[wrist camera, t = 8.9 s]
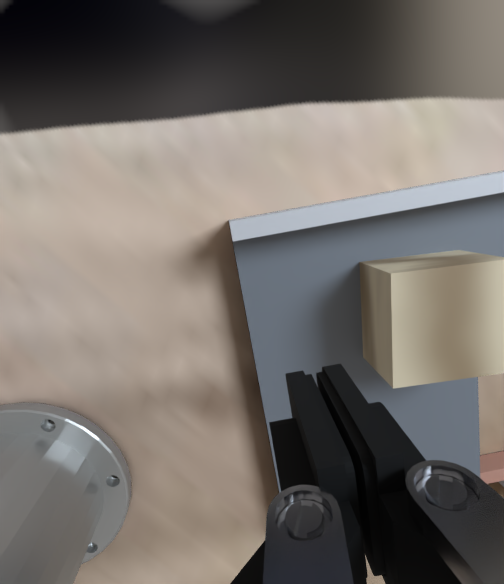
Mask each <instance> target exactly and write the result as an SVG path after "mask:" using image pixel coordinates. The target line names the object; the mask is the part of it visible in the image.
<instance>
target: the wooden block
mask: <svg viewBox="0 0 504 584" xmlns="http://www.w3.org/2000/svg"><path fill="white" fill-rule="evenodd" d="M359 263H360V289H361V314H362V339H363V358H364V359H365V360H366V361H367V362H368V363H369V364H370V365H371V366H372V367H373V368H374V369H375V370H376V371H377V372H378V373H379V374H380V375H381V376H382V378H383V379H384V380H385V381H386V382H387V383H388V384H389V385H390V386H391V387H392V388H393V389H394V388H401V387H408V386H416V385H423V384H430V383H437V382H444V381H451V380H459V379H466V378H473V377H480V376H487V375H495V374H502V373H504V257H499V256H493V255H487V254H481V253H474V252H468V251H462V250H454V251H446V252H438V253H429V254H421V255H413V256H405V257H396V258H388V259H380V260H372V261H363V262H359Z"/></svg>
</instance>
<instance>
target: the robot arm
mask: <svg viewBox="0 0 504 584" xmlns="http://www.w3.org/2000/svg"><path fill="white" fill-rule="evenodd" d="M285 375H286V382H287V389H288V395H289V401H290V407H291V413H292V418H289V419H284V420H278V421H273V422H269V425H270V430H271V436H272V442H273V448H274V454H275V459H276V465H277V471H278V477H279V483H280V488H281V492H280V493H279V494H278V495H277V496H276V497H275V498H274V499H273V501H272V502H271V504H270V505H269V509H268V513H267V521H266V538H265V541H264V542H263V544H262V545H261V546H260V547H259V549H258V550H257V551H256V552H255V554H254V555H253V556H252V557H251V559H250V560H249V561H248V562H247V564H246V565H245V566H244V567H243V569H242V570H241V571H240V572H239V574H238V575H237V576H236V577H235V579H234V580H233V581H232V582H231V584H367V582H366V578H367V568H366V559H365V555H366V557H367V560H368V563H369V565H370V568H371V570H372V573H373V575H374V576H378V575H382V576H383V579H384V581H385V583H386V584H504V498H503V497H502V496H500V495H499V494H498V493H497V492H496V491H495V490H493V489H492V488H491V487H490V486H489V485H488V484H486V483H485V482H484V481H483V480H482V479H481V478H480V477H478V476H477V475H476V474H474V473H473V472H471V471H470V470H469V469H467V468H465V467H463V466H460V465H458V464H456V463H452V462H448V461H443V460H428V461H426V459H425V458H424V457H423V456H422V454H421V453H420V452H419V450H418V449H417V448H416V446H415V445H414V444H413V443H412V441H411V440H410V439H409V437H408V436H407V435H406V433H405V432H404V431H403V430H402V428H401V427H400V426H399V424H398V423H397V422H396V420H395V419H394V418H393V416H392V415H391V414H390V413H389V411H388V410H387V409H386V407H385V406H384V405H383V404H382V403H381V402H374V403H368V402H367V400H366V399H365V398H364V396H363V395H362V393H361V392H360V390H359V389H358V387H357V386H356V385H355V383H354V382H353V380H352V379H351V377H350V376H349V375H348V373H347V372H346V370H345V369H344V367H343V366H342V365H341V364H335V365H329V366H324V367H322V372H318V373H316V378H317V385H318V387H317V385H316V382H315V380H314V378H313V376H312V374H307V375H305V373H304V371H303V370H302V371H297V372H292V373H286V374H285ZM130 499H131V477H130V473H129V469H128V465H127V463H126V461H125V459H124V457H123V455H122V453H121V451H120V449H119V448H118V447H117V445H116V444H115V443H114V441H113V440H112V439H111V438H110V436H108V435H107V434H106V433H105V432H104V431H103V430H102V429H101V428H99V427H98V426H97V425H96V424H94V423H93V422H91V421H89V420H88V419H86V418H84V417H83V416H81V415H79V414H76V413H74V412H71V411H69V410H67V409H64V408H61V407H56V406H52V405H47V404H42V403H25V402H23V403H13V404H4V405H0V584H73V583H74V581H75V578H76V576H77V573H78V571H79V568H80V566H81V564H83V563H85V562H87V561H89V560H91V559H92V558H94V557H95V556H96V555H98V554H99V553H101V552H102V551H103V550H104V549H105V548H106V547H107V546H108V545H109V544H110V543H111V542H112V541H113V540H114V538H115V537H116V535H117V534H118V532H119V530H120V529H121V527H122V525H123V522H124V520H125V517H126V514H127V511H128V508H129V503H130Z"/></svg>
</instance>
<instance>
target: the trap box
mask: <svg viewBox="0 0 504 584" xmlns="http://www.w3.org/2000/svg"><path fill="white" fill-rule="evenodd" d="M229 225H230V230H231V236H232V241H233V247H234V252H235V257H236V263H237V268H238V273H239V279H240V284H241V290H242V295H243V300H244V306H245V311H246V316H247V322H248V327H249V332H250V338H251V343H252V349H253V354H254V359H255V365H256V370H257V375H258V381H259V386H260V392H261V397H262V402H263V408H264V413H265V418H266V424H267V429H268V435H269V440H270V445H271V451H272V456H273V461H274V467H275V472H276V477H277V483H278V488H279V493H280V492H281V488H280V483H279V477H278V471H277V465H276V459H275V454H274V448H273V442H272V436H271V430H270V425H269V422H273V421H278V420H284V419H289V418H292V413H291V407H290V401H289V395H288V389H287V382H286V375H285V374H286V373H292V372H297V371H302V370H303V371H304V373H305V375H307V374H312V376H313V378H314V380H315V382H316V385H317V378H316V373H318V372H322V367H324V366H329V365H335V364H341V365H342V366H343V367H344V369H345V370H346V372H347V373H348V375H349V376H350V377H351V379H352V380H353V382H354V383H355V385H356V386H357V387H358V389H359V390H360V392H361V393H362V395H363V396H364V398H365V399H366V400H367V402H368V403H374V402H381V403H382V404H383V405H384V406H385V407H386V409H387V410H388V411H389V413H390V414H391V415H392V416H393V418H394V419H395V420H396V422H397V423H398V424H399V426H400V427H401V428H402V430H403V431H404V432H405V433H406V435H407V436H408V437H409V439H410V440H411V441H412V443H413V444H414V445H415V446H416V448H417V449H418V450H419V452H420V453H421V454H422V456H423V457H424V458H425V459H426V461H428V460H443V461H448V462H452V463H456V464H458V465H460V466H463V467H465V468H467V469H469V470H470V471H471V472H473V473H474V474H476V475H477V476H478V477H480V478H481V479H482V480H483V481H484V482H485V483H486V484H489V483H494V482H499V483H500V484H501V485H502V486H503V487H504V451H501V452H496V453H491V454H486V455H481V456H480V444H479V405H478V377H473V378H466V379H459V380H451V381H444V382H437V383H430V384H423V385H416V386H408V387H401V388H394V389H393V388H392V387H391V386H390V385H389V384H388V383H387V382H386V381H385V380H384V379H383V378H382V376H381V375H380V374H379V373H378V372H377V371H376V370H375V369H374V368H373V367H372V366H371V365H370V364H369V363H368V362H367V361H366V360H365V359H364V358H363V339H362V314H361V289H360V263H359V262H363V261H372V260H380V259H388V258H396V257H405V256H413V255H421V254H429V253H438V252H446V251H454V250H462V251H468V252H474V253H481V254H487V255H493V256H499V257H504V171H498V172H493V173H487V174H482V175H476V176H471V177H465V178H460V179H454V180H448V181H443V182H437V183H432V184H426V185H421V186H415V187H410V188H404V189H398V190H393V191H387V192H382V193H376V194H371V195H365V196H360V197H354V198H348V199H343V200H337V201H332V202H326V203H321V204H315V205H310V206H304V207H298V208H293V209H287V210H282V211H276V212H271V213H265V214H260V215H254V216H249V217H243V218H237V219H232V220H229ZM317 387H318V385H317Z"/></svg>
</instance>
